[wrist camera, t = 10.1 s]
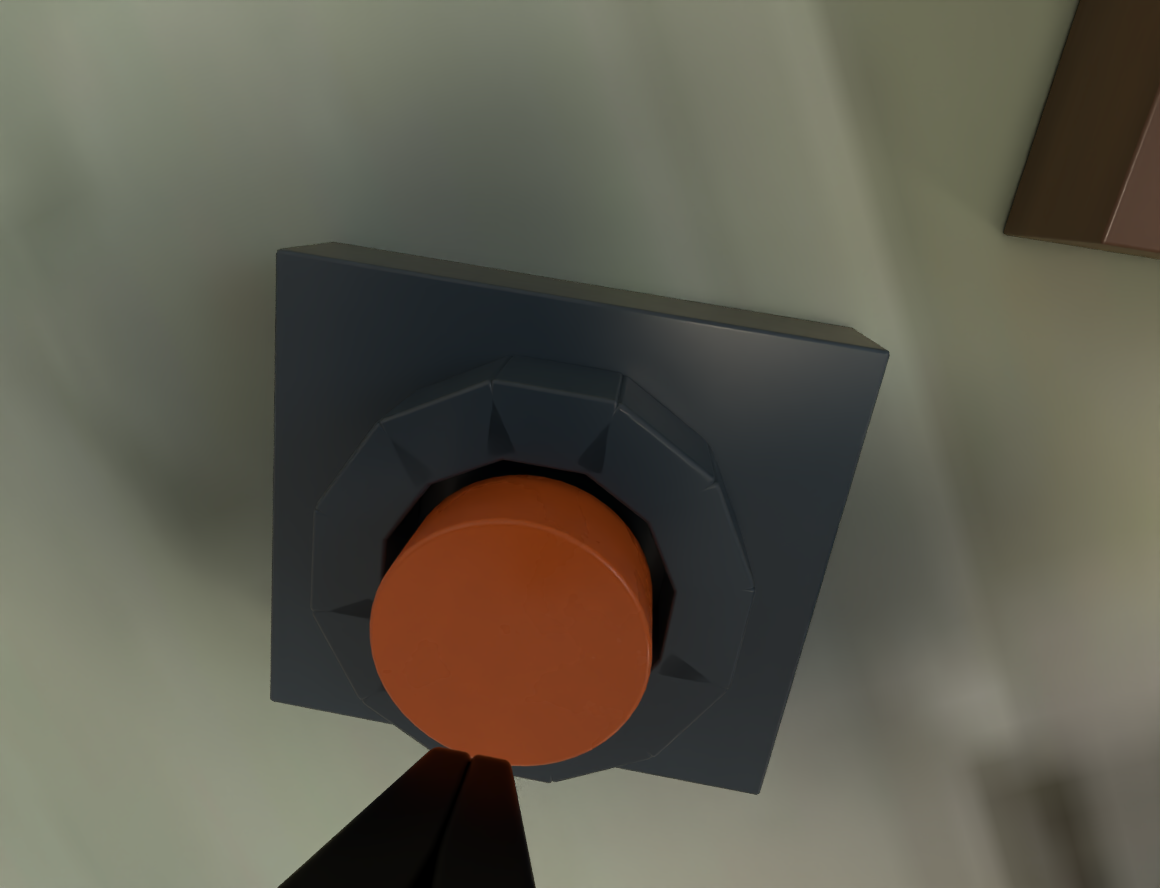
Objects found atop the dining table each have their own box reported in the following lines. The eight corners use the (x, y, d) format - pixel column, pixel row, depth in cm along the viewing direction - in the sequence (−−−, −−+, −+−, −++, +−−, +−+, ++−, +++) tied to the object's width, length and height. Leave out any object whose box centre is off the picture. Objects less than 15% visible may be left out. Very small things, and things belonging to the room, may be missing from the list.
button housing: (855, 328, 14) (934, 377, 10) (746, 721, 16) (774, 877, 13) (331, 240, 14) (210, 255, 10) (316, 640, 17) (218, 767, 13)
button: (674, 497, 11) (678, 550, 9) (628, 712, 12) (625, 792, 11) (416, 452, 11) (375, 495, 10) (398, 668, 13) (359, 740, 11)
